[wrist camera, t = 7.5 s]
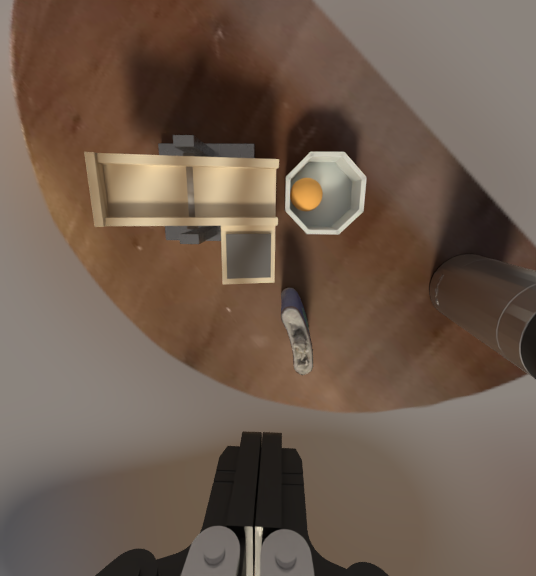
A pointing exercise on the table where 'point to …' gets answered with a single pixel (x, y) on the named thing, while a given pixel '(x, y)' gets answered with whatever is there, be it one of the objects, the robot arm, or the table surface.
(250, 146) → the lever stand
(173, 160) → the lever
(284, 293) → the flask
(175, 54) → the table surface
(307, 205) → the ball
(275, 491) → the robot arm
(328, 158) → the cup
